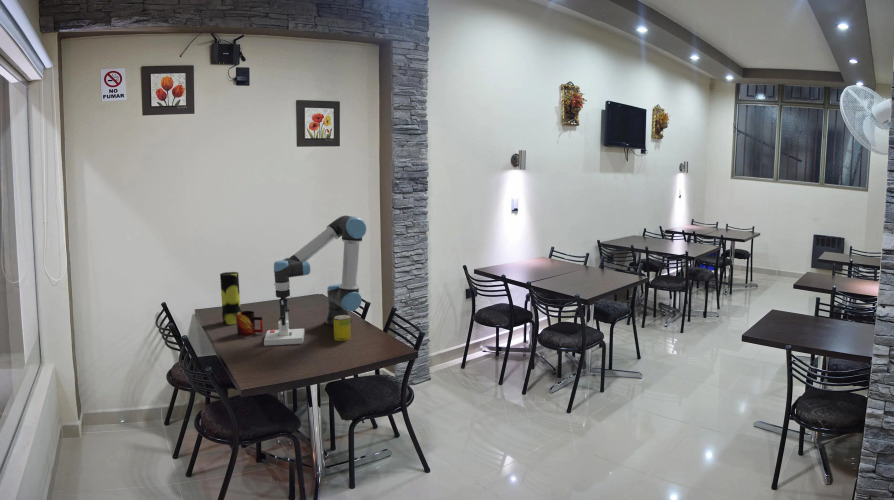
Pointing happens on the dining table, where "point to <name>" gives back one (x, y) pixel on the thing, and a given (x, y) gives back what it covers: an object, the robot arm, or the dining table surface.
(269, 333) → the socket
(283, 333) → the plug
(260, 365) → the dining table surface
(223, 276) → the container
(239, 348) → the dining table surface
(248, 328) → the mug
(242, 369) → the dining table surface
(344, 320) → the yellow can
